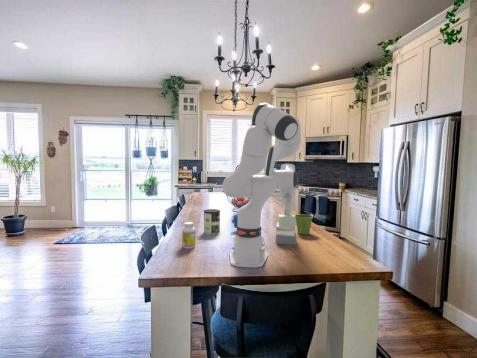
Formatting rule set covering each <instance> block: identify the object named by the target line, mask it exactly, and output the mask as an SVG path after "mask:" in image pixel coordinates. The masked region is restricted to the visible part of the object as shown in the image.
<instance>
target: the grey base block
mask: <svg viewBox="0 0 477 358" xmlns="http://www.w3.org/2000/svg"><path fill="white" fill-rule="evenodd" d="M275 244H277V245H292V246H293V245H294V246H296V245H297V233H295V236H283V235H276V234H275Z"/></svg>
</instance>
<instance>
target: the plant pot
mask: <svg viewBox="0 0 477 358" xmlns="http://www.w3.org/2000/svg"><path fill="white" fill-rule="evenodd" d="M293 215H294V216H295V225H296V230H297V234H300V235H309V234H310V232H311V225H312V222H313V219H314V216H313V215H312V214H303V213H301V214H300V213H299V214H293Z"/></svg>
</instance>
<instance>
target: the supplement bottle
mask: <svg viewBox="0 0 477 358" xmlns="http://www.w3.org/2000/svg"><path fill="white" fill-rule="evenodd" d="M183 224H184V225H183V226H184V227H183V228H182V238H181V239H182V248H183V249H185V250H187V249H188V250H190V249H193V248H195V247H196V228H195V227H194V222H192V221H187V222H184V223H183Z"/></svg>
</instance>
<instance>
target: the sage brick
mask: <svg viewBox="0 0 477 358" xmlns="http://www.w3.org/2000/svg"><path fill="white" fill-rule="evenodd" d="M294 215H295V214H290V215H289V219H286V215H285V214H278V219H277V221H278V224H279V226H295V227H296V219H295V216H294Z"/></svg>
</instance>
